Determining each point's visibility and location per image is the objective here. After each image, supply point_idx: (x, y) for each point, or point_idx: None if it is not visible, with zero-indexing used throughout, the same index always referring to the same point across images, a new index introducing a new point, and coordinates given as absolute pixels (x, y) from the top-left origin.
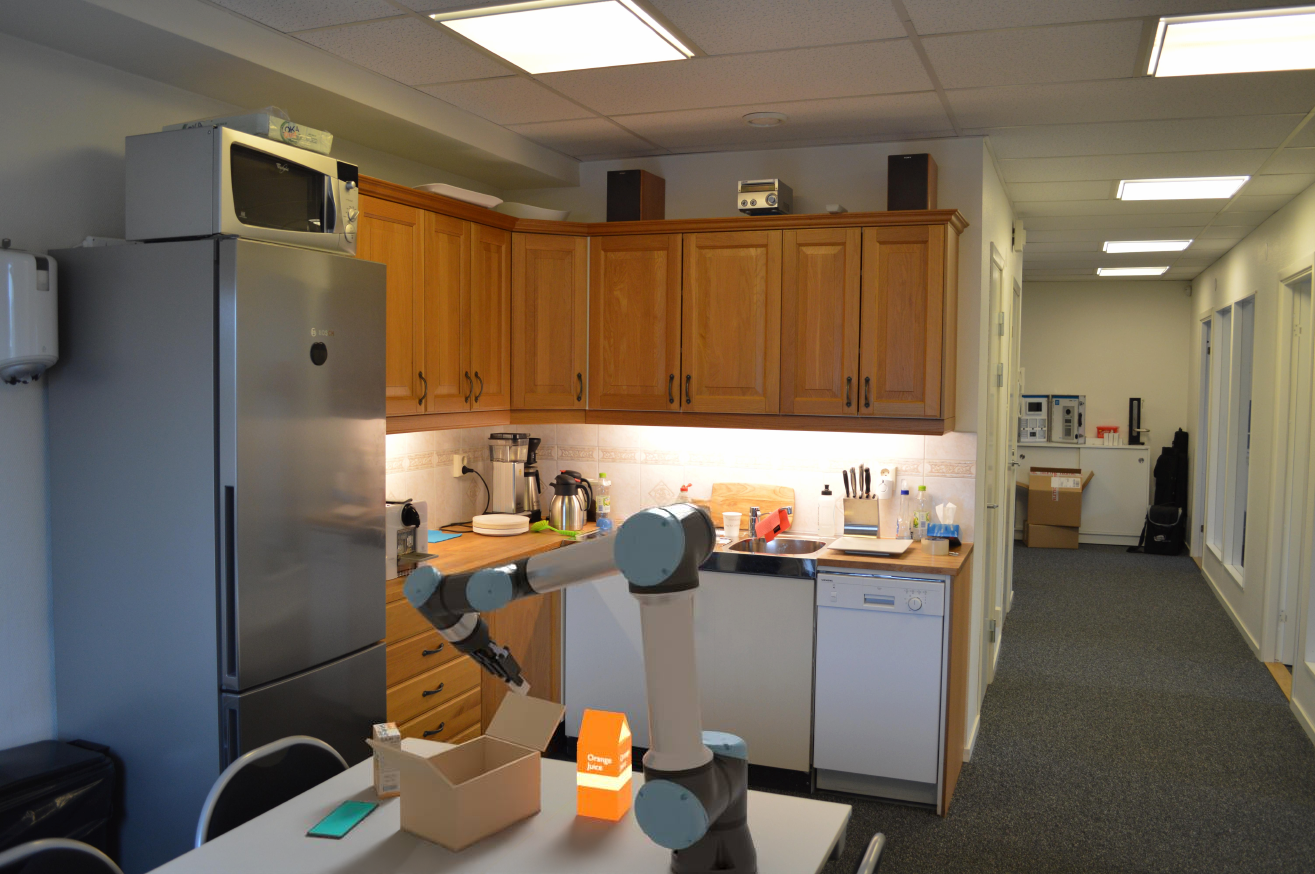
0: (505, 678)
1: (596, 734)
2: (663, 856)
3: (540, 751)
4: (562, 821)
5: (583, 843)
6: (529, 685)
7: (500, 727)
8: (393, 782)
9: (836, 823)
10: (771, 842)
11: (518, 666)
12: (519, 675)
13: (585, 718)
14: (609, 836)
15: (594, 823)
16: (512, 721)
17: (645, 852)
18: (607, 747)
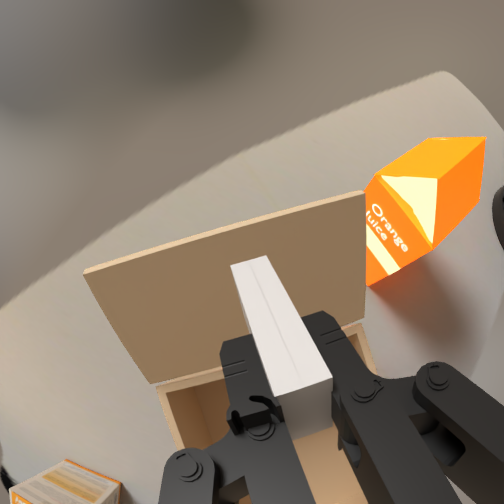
0: (302, 431)
1: (456, 207)
2: (499, 257)
3: (360, 323)
4: (378, 319)
5: (446, 325)
6: (268, 262)
7: (181, 357)
8: (112, 501)
9: (475, 96)
10: (497, 156)
11: (487, 401)
12: (305, 329)
13: (440, 196)
14: (445, 284)
15: (406, 280)
16: (204, 328)
17: (488, 269)
18: (468, 212)
